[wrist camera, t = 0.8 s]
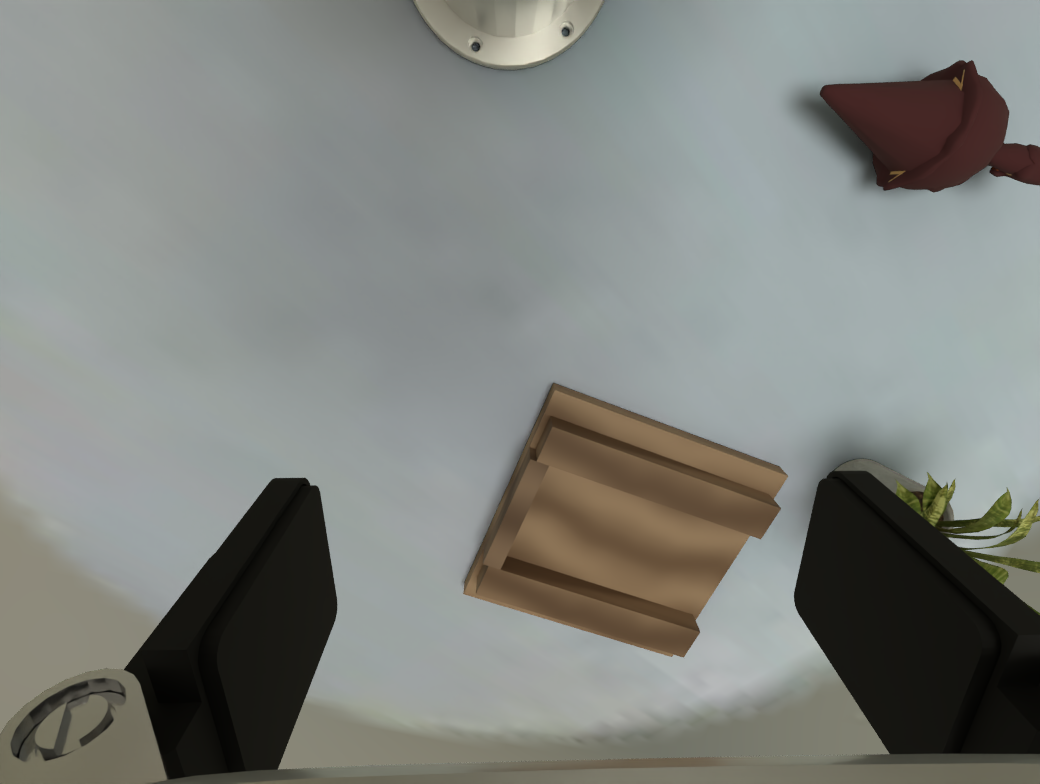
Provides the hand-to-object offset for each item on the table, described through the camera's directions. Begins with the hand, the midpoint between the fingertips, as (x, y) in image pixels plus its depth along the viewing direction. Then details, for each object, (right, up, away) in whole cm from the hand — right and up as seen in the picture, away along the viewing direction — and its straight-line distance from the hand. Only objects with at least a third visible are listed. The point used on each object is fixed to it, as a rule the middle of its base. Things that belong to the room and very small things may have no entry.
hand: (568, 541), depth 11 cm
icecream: (+24, +20, +26) cm, 41 cm away
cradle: (+7, -9, +37) cm, 38 cm away
